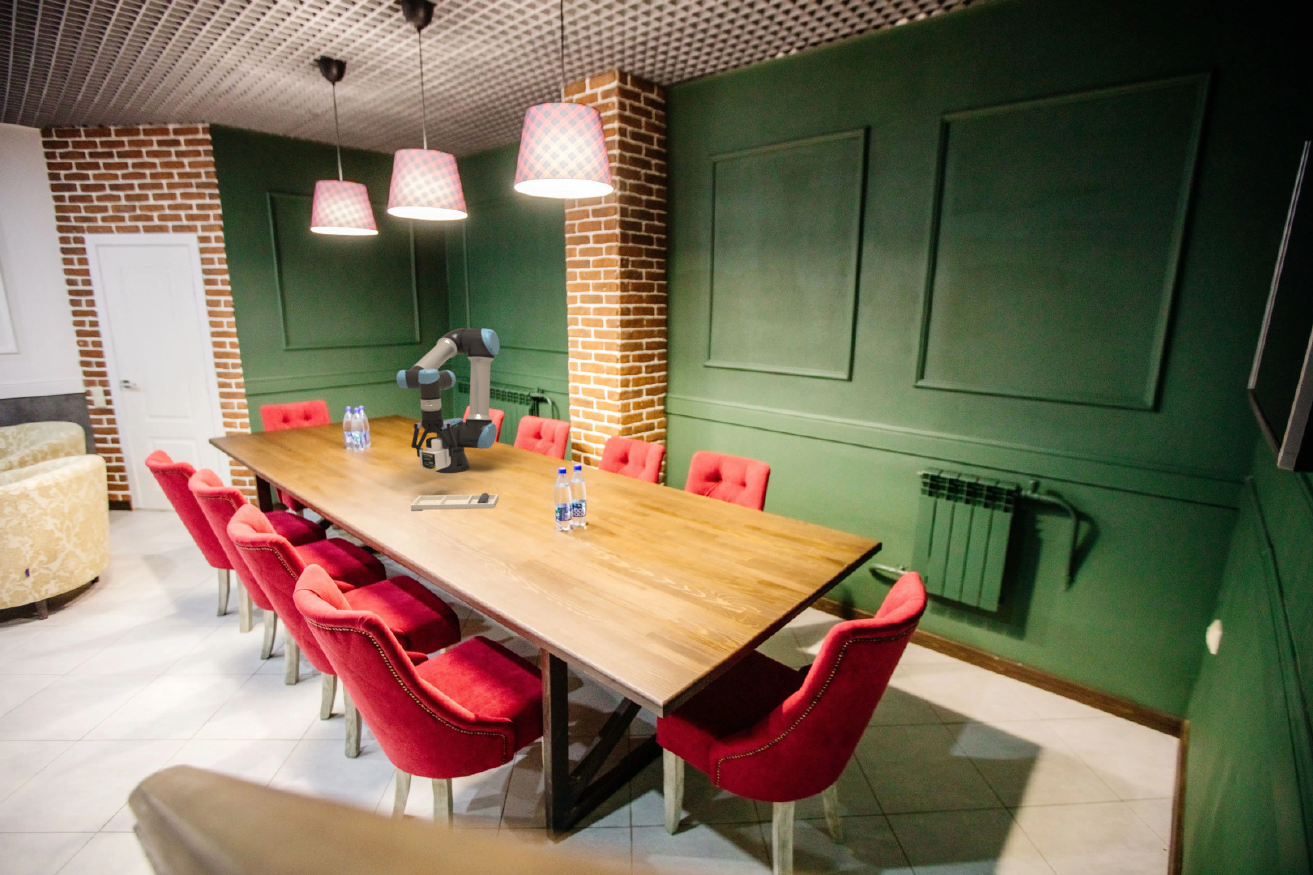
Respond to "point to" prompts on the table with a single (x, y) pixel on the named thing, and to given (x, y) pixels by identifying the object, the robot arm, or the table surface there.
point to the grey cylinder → (483, 498)
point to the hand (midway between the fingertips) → (435, 464)
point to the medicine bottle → (434, 454)
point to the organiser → (452, 502)
